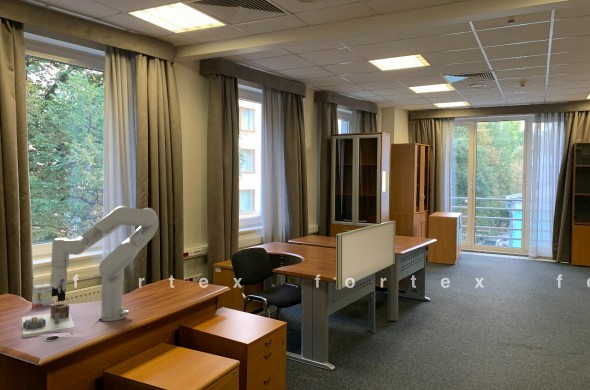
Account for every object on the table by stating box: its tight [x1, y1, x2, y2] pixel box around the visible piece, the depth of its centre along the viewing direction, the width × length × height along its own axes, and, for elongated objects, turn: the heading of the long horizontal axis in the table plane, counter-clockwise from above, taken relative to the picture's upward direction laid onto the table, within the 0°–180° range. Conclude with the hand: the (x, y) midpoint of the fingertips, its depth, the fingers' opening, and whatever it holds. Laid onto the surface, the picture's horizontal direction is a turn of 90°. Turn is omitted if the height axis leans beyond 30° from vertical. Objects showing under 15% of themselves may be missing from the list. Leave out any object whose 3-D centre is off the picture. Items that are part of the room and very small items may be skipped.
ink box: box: [31, 283, 54, 309], centre depth 228 cm, size 9×5×12 cm, turn 140°
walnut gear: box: [50, 302, 70, 319], centre depth 210 cm, size 8×8×6 cm
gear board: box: [21, 313, 76, 339], centre depth 202 cm, size 26×20×6 cm
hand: (58, 298), depth 210 cm, fingers open, 9 cm apart
